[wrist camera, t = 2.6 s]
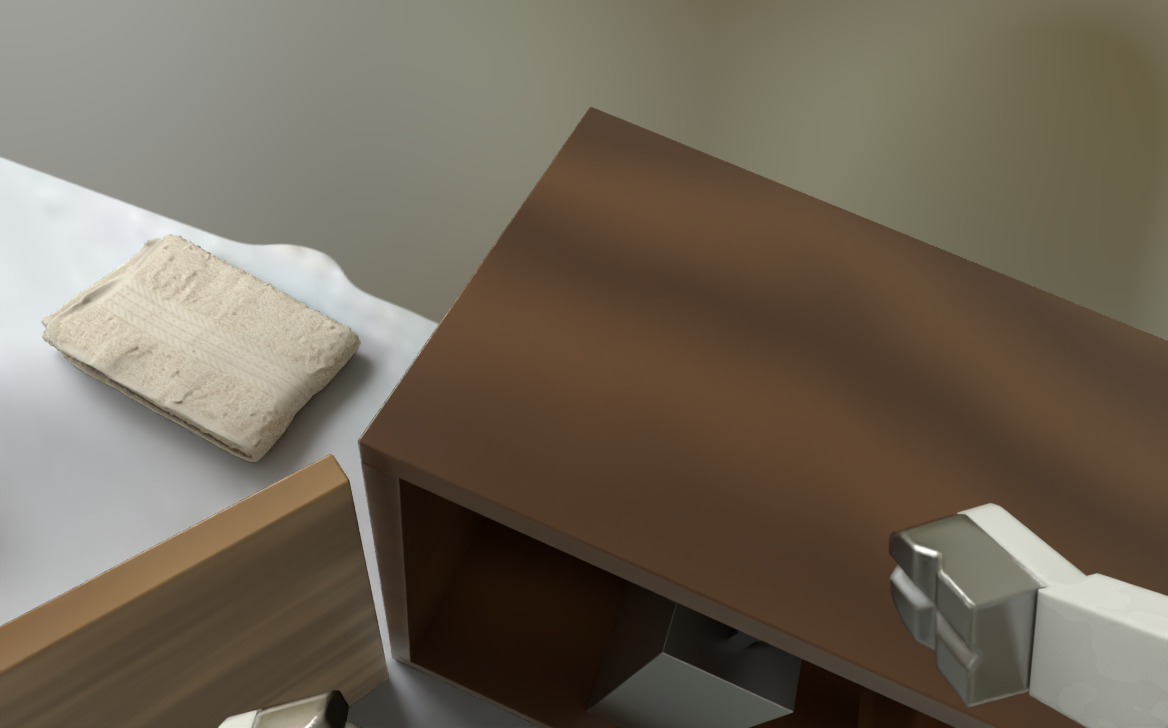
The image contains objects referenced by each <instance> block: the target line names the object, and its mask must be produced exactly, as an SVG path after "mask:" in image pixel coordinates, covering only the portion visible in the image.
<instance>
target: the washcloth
mask: <svg viewBox="0 0 1168 728" xmlns="http://www.w3.org/2000/svg"><path fill="white" fill-rule="evenodd" d="M42 324H43V325H44V326H45V327H46V330H45V331H44V332H43V334H42V337H43V339H44V340H45V341H46V342H49V344H50V345H51V346H54V347H55V348H57V350H58V351H61V352H62V353H63V354H64V357H65V358H66V359H67V360H68V361H69V362H70V363H71V364H73V365H74V366H75V367H76V368H78V369H79V370H81V371H83V372H85V373H86V374H88V375H89V376H91V377H93V378H94V379H96V380H98V381H101V382H103V383H104V384H107V385H110V386H111V387H113V388H114V389H116V390H118V391H120V392H121V393H123V394H125V395H126V396H128V397H130V398H131V399H132V400H135V401H136V402H138V403H140V404H142V405H144V406H145V407H147V408H149V409H151V410H152V411H154V412H156V413H157V414H159V415H162V416H164V417H166V418H168V419H170V420H172V421H174V422H175V423H177V424H179V425H180V426H183V427H184V428H186V429H188V430H190V431H191V432H193V433H195V434H197V435H199V436H200V437H202V438H204V439H205V440H207V441H209V442H211V443H212V444H215V445H216V446H218V447H220V448H221V449H223V450H225V451H227V452H229V453H231V454H233V455H235V456H237V457H239V458H242V459H244V460H246V461H249V462H257V461H258V460H259V459H260V458H261V457H262V456H263V455H265V454H266V453H267V452H268V451H269V449H270V448H271V447H272V446H273V445H274V444H275V443H276V441H277V440H278V439H279V438H280V436H282V435H283V434H284V432H285V431H286V429H287V427H288V426H289V425H290V423H291V421H292V420H294V419H293V417H294V415H295V414H296V413H297V412H298V410H300V409H301V408H302V407H303V406H304V405H305V403H307V402H308V401H309V400H310V399H311V397H312V396H313V395H314V394H315V393H316V392H319V391H322V389H323V388H324V387H325V386H326V385H327V384H328V383H329V382H330V381H331V380H332V378H333V377H334V376H335V375H336V373H338V372H339V371H340V369H341V368H342V367H343V366H345V365H346V362H347V361H348V360H349V359H350V358H351V357H352V356H353V354H354V353H355V352H356V350H357V349H358V347H359V345H360V339H359V338H358V336H357V335H356V333H354V332H352V331H351V329H350V328H349V327H348V326H347V327H345V326H343V325H341V324H340V323H338V322H337V321H335V320H334V319H331V318H329V317H328V316H323V314H321V313H320V312H319V311H316V310H313V309H310V308H309V307H308V306H307V305H306V304H304V303H300V302H298V301H297V300H295V299H293V298H291V297H289V296H288V295H287V294H285V293H282V292H281V291H278V290H276V289H275V288H274V287H273V286H272V285H271V284H270V283H269V284H266V283H265V282H262V281H261V280H258V279H256V278H255V277H254V276H251V275H249V274H247V273H246V272H245V271H243V270H240V269H238V268H236V267H234V266H232V265H230V264H228V263H227V262H226V261H222V260H221V259H220V258H217V257H215V256H212V255H211V253H209V252H207V251H205V250H204V249H202V248H201V247H200V246H197V245H195V244H194V243H192V242H188V241H187V240H185V239H183V238H182V237H181V236H174V235H166V236H164V237H163V238H160V239H152V240H148V241H147V242H145V243H144V246H143V247H142V249H141V251H140V252H139V253H137V254H136V255H134V256H133V257H132V258H131V259H130V260H129V261H127V262H126V263H124V264H123V265H121V266H120V267H118V268H116V269H115V270H113V271H112V272H111V273H109V274H108V275H106V276H105V277H104V278H102V279H101V280H99V281H98V282H96V283H94V284H93V285H92V286H90V287H89V288H87V289H85V290H84V291H82V292H80V293H79V294H77V295H76V296H75V297H73V298H72V299H71V300H69V301H68V302H67V303H65V304H64V305H63V306H62V307H60V308H59V309H57V310H56V311H55V312H53V313H52V314H51V315H49V316H46V317H45V318H43V320H42Z"/></svg>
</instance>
